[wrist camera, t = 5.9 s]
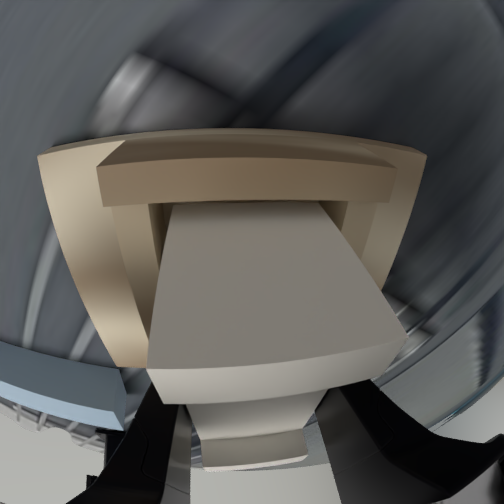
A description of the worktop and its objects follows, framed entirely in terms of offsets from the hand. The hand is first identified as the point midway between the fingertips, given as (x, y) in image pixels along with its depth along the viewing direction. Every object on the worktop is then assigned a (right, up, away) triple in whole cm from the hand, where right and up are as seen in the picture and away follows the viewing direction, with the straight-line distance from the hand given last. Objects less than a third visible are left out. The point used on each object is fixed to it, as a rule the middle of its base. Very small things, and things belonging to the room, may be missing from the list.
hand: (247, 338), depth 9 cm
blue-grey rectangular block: (-15, -6, +6) cm, 17 cm away
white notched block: (0, +1, +1) cm, 1 cm away
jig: (0, +2, +3) cm, 4 cm away
